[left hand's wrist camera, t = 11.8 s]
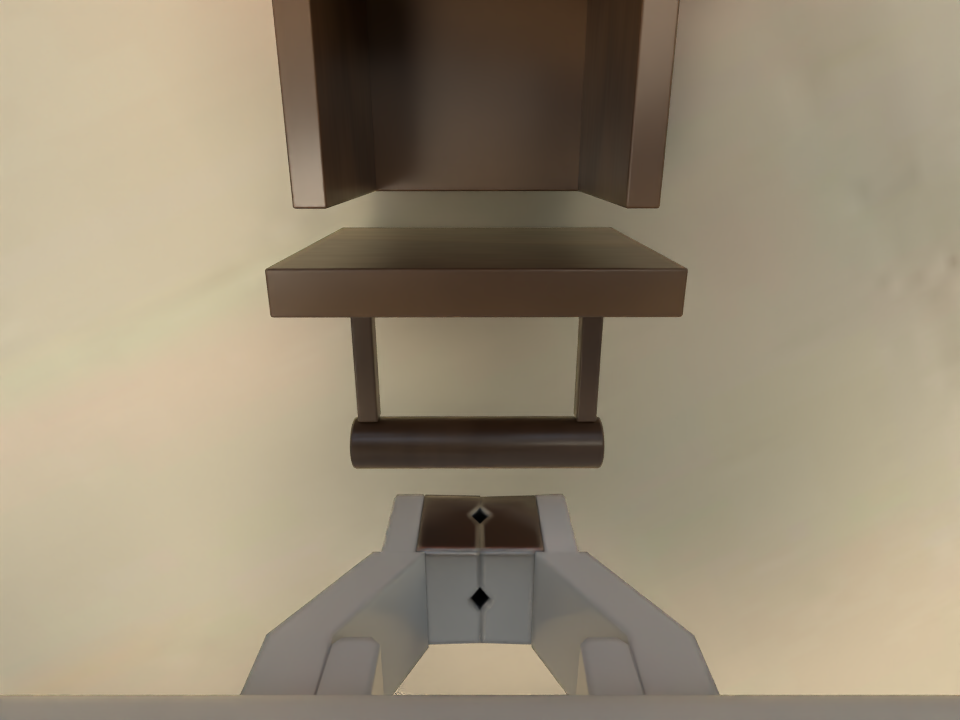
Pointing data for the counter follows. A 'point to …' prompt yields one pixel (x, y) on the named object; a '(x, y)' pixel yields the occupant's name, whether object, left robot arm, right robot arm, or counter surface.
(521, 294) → the drawer
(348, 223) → the counter surface
